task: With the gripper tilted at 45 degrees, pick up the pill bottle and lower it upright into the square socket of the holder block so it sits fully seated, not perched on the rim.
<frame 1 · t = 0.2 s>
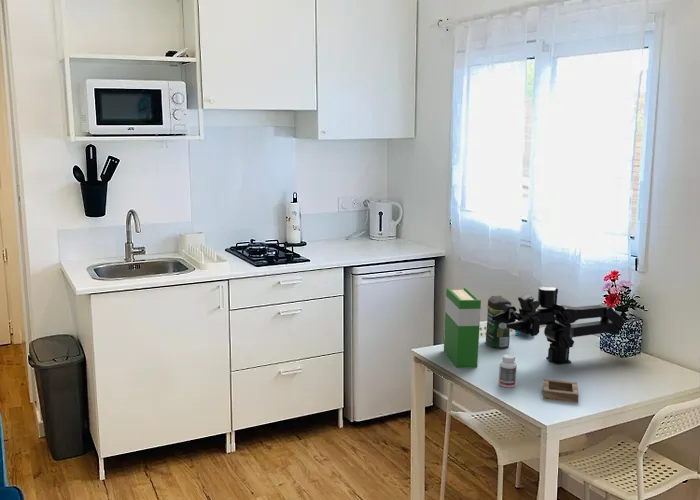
hand: (499, 322, 246), 17 cm above the table, tool horizontal, fingers open, 9 cm apart
socket block: (559, 395, 228), on the table
coffee jar: (497, 345, 274), on the table
hardback book: (459, 359, 258), on the table
pill bottle: (506, 385, 235), on the table
blue angled piece: (524, 335, 287), on the table
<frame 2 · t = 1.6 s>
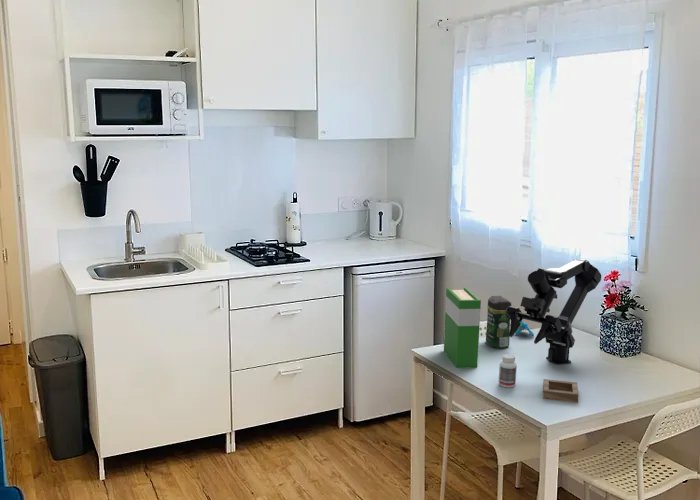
hand: (522, 339, 238), 13 cm above the table, tool tilted 45°, fingers open, 9 cm apart
nothing on the table moved.
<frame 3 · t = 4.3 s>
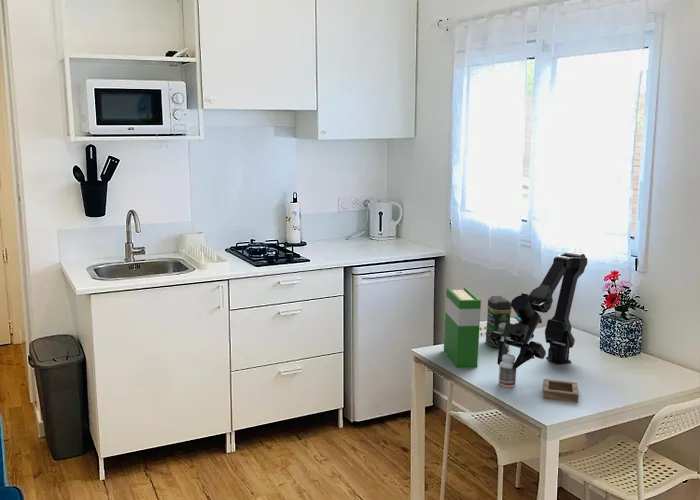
hand: (505, 366, 232), 7 cm above the table, tool tilted 45°, fingers closed on pill bottle, 5 cm apart
pill bottle: (506, 385, 235), on the table, touching gripper
everything else where it was.
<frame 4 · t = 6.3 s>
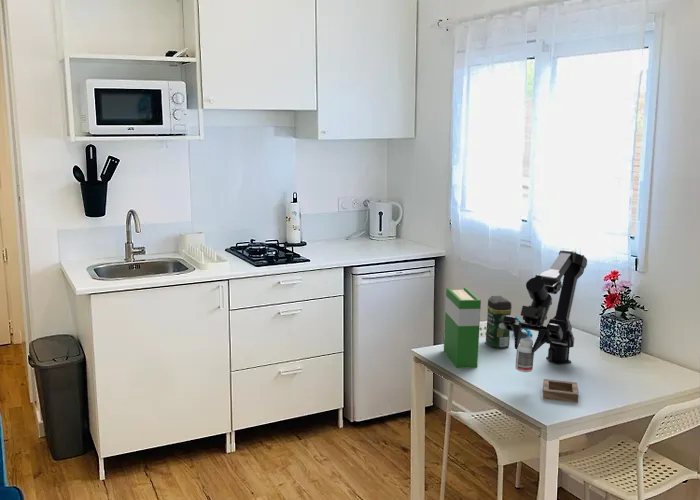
hand: (524, 350, 228), 13 cm above the table, tool tilted 45°, fingers closed on pill bottle, 5 cm apart
pill bottle: (523, 370, 230), point 6 cm above the table, touching gripper
everything else where it was.
when the fingers open (10 cm above the table, at t = 8.5 s): pill bottle drops 3 cm, resting on socket block.
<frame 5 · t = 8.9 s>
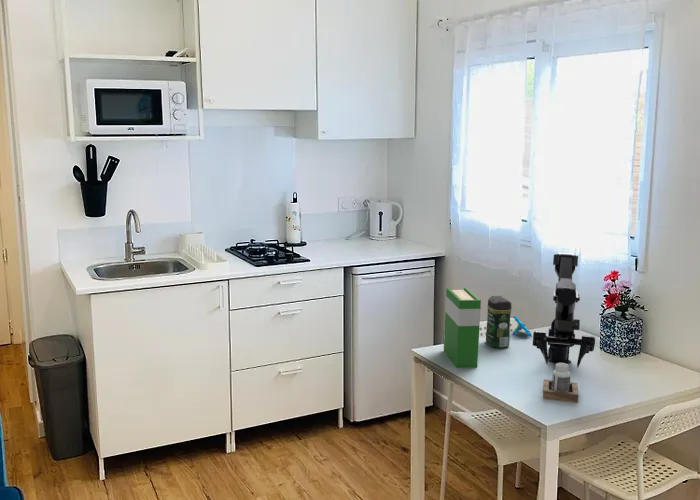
hand: (562, 365, 224), 10 cm above the table, tool tilted 45°, fingers open, 9 cm apart
socket block: (559, 395, 228), on the table, touching pill bottle
pill bottle: (559, 394, 228), resting on socket block
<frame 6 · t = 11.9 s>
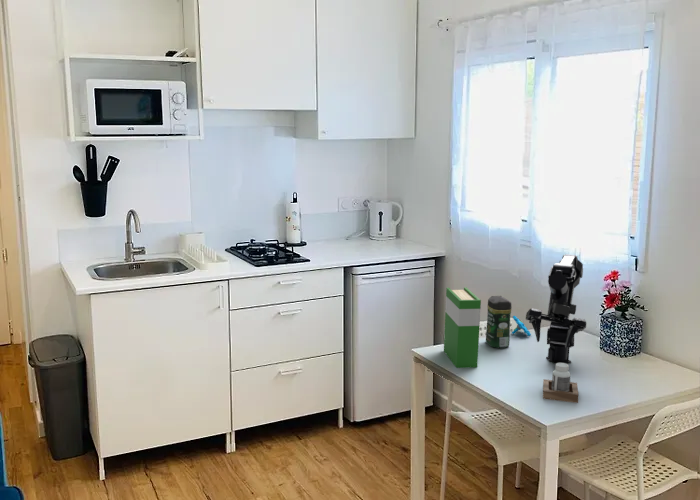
hand: (552, 344, 236), 13 cm above the table, tool tilted 35°, fingers open, 9 cm apart
pill bottle: (559, 394, 228), resting on socket block
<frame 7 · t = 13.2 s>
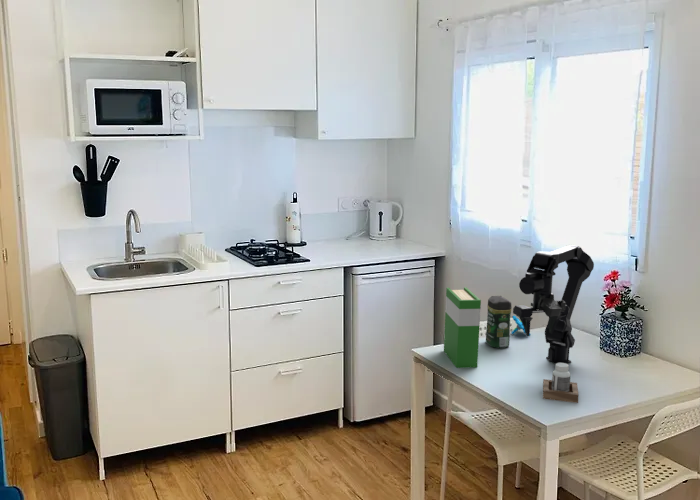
hand: (539, 334, 245), 13 cm above the table, tool pointing down, fingers open, 9 cm apart
pill bottle: (559, 394, 228), resting on socket block
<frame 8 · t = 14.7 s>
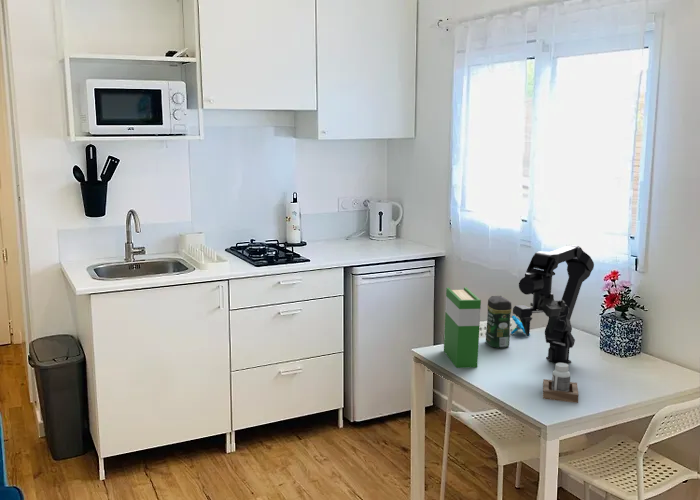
hand: (539, 334, 245), 13 cm above the table, tool pointing down, fingers open, 9 cm apart
at the end: pill bottle 0.1 cm off-centre on the socket block, point 0.3 cm above the socket block's base; pill bottle tilted 0°; the gripper is holding nothing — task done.
